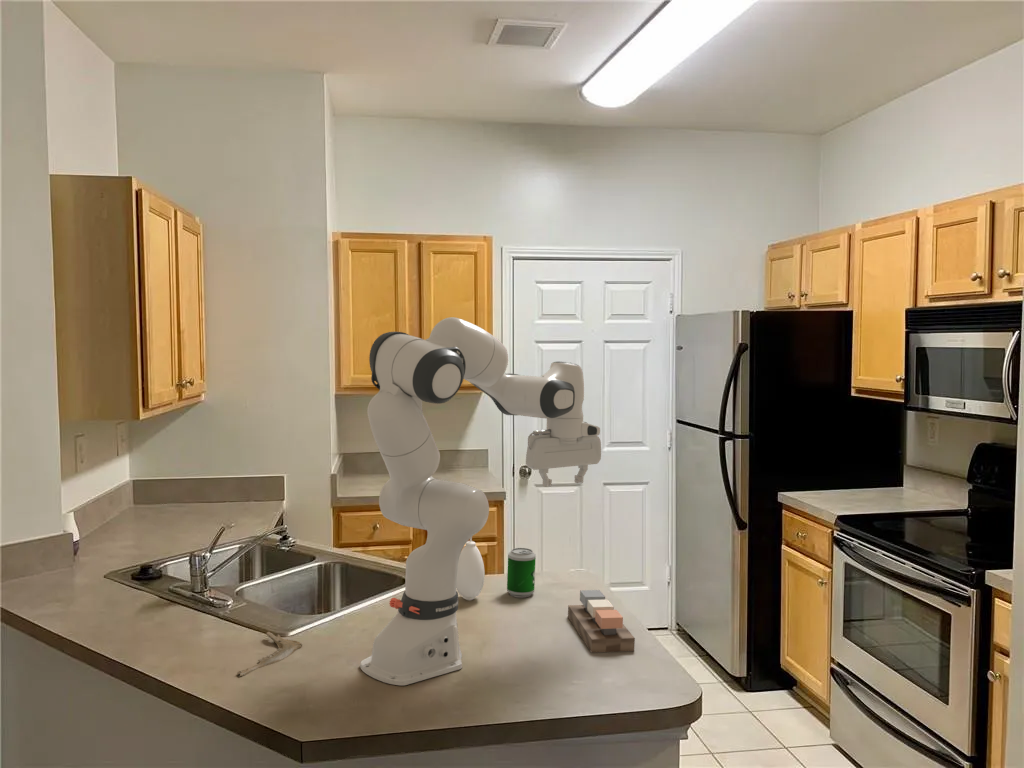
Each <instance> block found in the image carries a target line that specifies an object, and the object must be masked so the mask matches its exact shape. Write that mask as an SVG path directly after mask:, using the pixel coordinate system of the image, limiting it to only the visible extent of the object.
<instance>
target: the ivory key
mask: <svg viewBox="0 0 1024 768" xmlns="http://www.w3.org/2000/svg"><path fill="white" fill-rule="evenodd" d="M614 608H615V606H614V605H613V604H612V603H611V602H610V601H609V599H606V598H605V600H588V604H587V610H588V612H589V613H590V614H591V616H592V617H593V622H594V623H595V624H597V622H596V621H595V614H596V610H615V609H614Z"/></svg>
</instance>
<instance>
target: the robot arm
mask: <svg viewBox="0 0 1024 768" xmlns="http://www.w3.org/2000/svg"><path fill="white" fill-rule="evenodd" d="M368 358H369V359H368V360H369V368H370V371H371V382H372V383H371V384H373V386H375V388H377V389H378V392H377V393H376V394H374V395H373V396H372V397H371V399H370V401H369V403H368V405H367V410H366V411H367V413H366V414H367V419H368V422H369V427H370V431H371V434H372V436H373V440H374V442H375V445H376V447H377V448H378V451H379V453H380V455H381V458H382V460H383V462H384V464H385V467H386V470H387V472H388V474H389V479H388V480H387V481H386V482H385V483H384V484H383V485H382V488H381V490H380V493H379V497H378V505H379V506H378V507H379V509H380V512H381V515H382V516H383V517H384V518H386V519H387V520H388V521H389V520H390V521H391V522H394V523H396V524H398V525H400V526H403V527H408V528H414V529H419V530H424V531H426V532H427V538H426V541H425V544H423V545H421V546H419V547H417V548H415V549H414V550H412V551H411V552H410V553H409V555H408V556H407V558H406V562H405V583H404V584H405V585H404V587H405V588H404V589H405V590H404V592H403V593H402V595H401V599H399V598H396V597H391V598H390V600H389V607H390V608H394V609H396V610H397V613H396V614H395V615H394V616H393V617H392V619H391V620H390V621H389V622H388V623H387V624H386V625H385V627H383V629H382V630H381V631H380V632H378V634H377V635H376V636H375V638H374V640H373V644H372V648H371V650H372V651H371V655H370V656H368V657H366V658H364V659H362V660H361V661H360V663H359V668H360V669H361V670H362V672H363V673H365V674H366V675H367V676H369V677H370V678H373V679H375V680H378V681H380V682H383V683H385V684H390V685H394V686H395V685H396V686H407V685H411V684H414V683H418V682H421V681H424V680H428V679H431V678H434V677H438V676H441V675H445V674H448V673H451V672H455V671H458V670H461V669H462V668H463V662H462V658H463V657H462V656H463V654H462V650H461V645H460V640H459V639H460V637H459V629H458V621H457V620H458V619H457V611H458V610H459V593H458V590H457V588H456V584H457V570H458V561H459V557H460V554H461V552H462V550H463V548H464V547H465V546H466V542H468V541H470V538H471V537H472V538H473V536H474V535H476V534H478V533H479V532H480V531H481V530H482V529H483V528H484V527H485V525H486V523H487V521H488V518H489V514H490V505H489V501H488V498H487V495H486V494H485V492H484V491H483V490H481V489H480V488H477V487H475V486H472V485H469V484H467V483H464V482H456V481H450V480H446V479H445V480H443V479H438V478H435V477H433V475H434V474H435V473H436V471H437V470H438V468H439V465H440V461H441V453H440V452H441V451H440V450H439V448H438V445H437V443H436V440H435V437H434V435H433V433H432V430H431V428H430V426H429V424H428V421H427V418H426V417H425V415H424V410H423V402H425V403H429V404H437V405H438V404H445V403H447V402H449V401H450V400H451V399H452V398H454V396H456V394H457V393H458V392H459V390H460V388H461V387H462V385H463V381H464V380H465V381H466V382H469V383H470V384H472V385H473V386H474V387H476V388H477V389H479V390H480V391H481V392H482V393H484V394H485V395H487V396H488V397H489V398H490V399H491V401H492V402H493V403H494V404H495V407H496V408H497V409H498V410H499V411H500V412H501V413H502V414H504V415H506V416H522V417H530V418H537V419H538V418H540V419H546V429H542V430H537V429H536V430H533V431H532V432H531V433H530V434H529V435H528V438H527V449H526V454H525V455H526V456H525V465H526V466H527V468H528V469H531V470H535V471H538V473H539V476H540V477H541V479H542V486H543V487H544V488H549V487H551V488H552V479H551V478H549V476H548V475H547V474H549V469H557V468H558V469H560V468H569V467H578V469H579V470H578V472H577V475H574V483H576V484H583V483H584V477H585V475H586V473H587V471H588V469H589V468H588V467H589V465H598V464H599V463H600V461H601V459H602V442H601V439H600V437H599V435H601V428H600V427H599V426H597V425H594V424H591V423H588V422H586V421H584V413H583V403H584V400H585V399H584V398H585V381H584V373H583V369H582V367H581V366H580V365H579V364H578V363H573V362H567V361H553V362H552V363H551V364H550V367H549V370H548V371H546V372H545V373H544V374H541V376H536V375H535V376H534V375H524V374H523V375H522V374H517V373H509V372H508V373H506V371H507V368H508V365H509V364H508V363H509V354H508V349H507V347H506V346H505V345H504V344H503V342H501V341H500V340H499V339H498V338H497V337H496V336H494V335H493V334H491V333H490V332H488V331H487V330H485V329H483V328H482V327H480V326H478V325H476V324H474V323H472V322H470V321H468V320H465V319H462V318H459V317H454V316H453V317H451V316H450V317H446V318H444V319H441V320H440V321H438V322H437V323H436V324H435V326H433V328H432V330H431V332H430V334H429V337H428V338H426V339H425V338H424V339H423V338H421V337H417V336H414V335H410V334H409V333H407V332H403V331H388V332H383V333H382V334H381V335H379V336H378V337H377V338H375V340H374V341H373V342H372V345H371V348H370V350H369V357H368Z"/></svg>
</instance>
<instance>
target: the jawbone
mask: <svg viewBox="0 0 1024 768" xmlns="http://www.w3.org/2000/svg"><path fill="white" fill-rule="evenodd" d="M266 636H267V637H268V638H269V639H271V640H272V641H274V643H275V644H276V645H277V649H276V650H275V651H273V652H272V653H270V654H269V655H266V656H263V657H262V658H259V659H258V660H257V661H258V662H259V663H257V664H255V665H252V666H250V667H248V668H245V669H240V670H238V671H237V674H236V676H237V677H243V676H246V675H248V674H250V673H251V672H253V671H255V670H258V669H261V668H264V667H267V666H269V665H273V664H275V663H276V664H277V663H279V662H280V661H283V660H285V659H287V658H288V657H290V656H291V655H292V654H293V653H295V652H296V651H297V650H300V649H301V648H302V647H303V644H302V642H300V641H297V640H293V639H286V638H283V637H282V636H281V635H280V634H276V635H275V634H274V633H272V632H270V631H267V632H266Z"/></svg>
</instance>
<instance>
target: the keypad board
mask: <svg viewBox="0 0 1024 768" xmlns="http://www.w3.org/2000/svg"><path fill="white" fill-rule="evenodd" d="M567 607H568V609H567V619H569V621H570V623H571V624H572V626H573V627H574V628H575V630H576V631H577V633H578V635H579V636H580V638H581V639H582V640H583V643H584V644H585V645H586V647H587V648H588V649H589V651H590V653H591V654H592V653H616V652H617V653H618V652H620V653H621V652H635V646H636V645H635V642H636V641H635V639H636V638H635V637H634V635H633V634H632V632H630V631H629V629H628V628H627V627H626V626H625V624H623V628H616V635H603V634H602V633H601V628H600V626H599V625H598V624H595V623H594V622H593V617H592V616H591V614H590V613H587V612H586V611H585V606H584V605H583V604H573V605H572V604H569V605H568V606H567Z"/></svg>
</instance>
